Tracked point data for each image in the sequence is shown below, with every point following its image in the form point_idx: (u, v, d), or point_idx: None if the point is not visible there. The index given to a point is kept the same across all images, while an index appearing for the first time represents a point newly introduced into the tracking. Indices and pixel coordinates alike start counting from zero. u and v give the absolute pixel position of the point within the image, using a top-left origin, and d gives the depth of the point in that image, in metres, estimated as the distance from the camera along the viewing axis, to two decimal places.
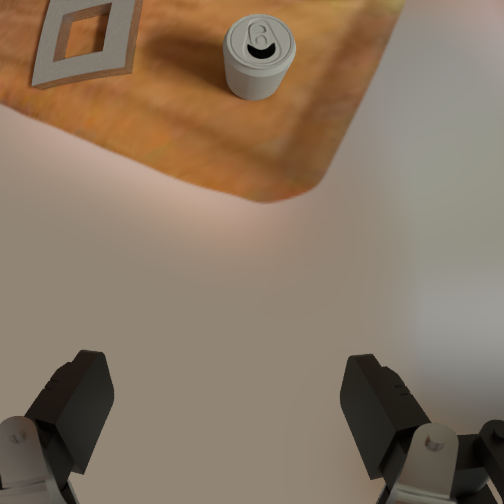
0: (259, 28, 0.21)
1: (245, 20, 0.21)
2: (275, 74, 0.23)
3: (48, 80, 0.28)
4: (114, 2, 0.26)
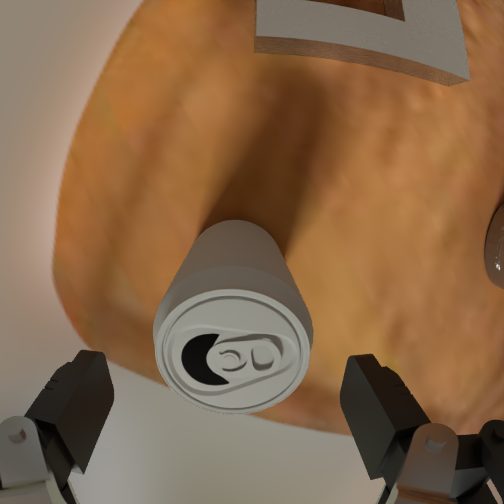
0: (266, 356, 0.11)
1: (291, 326, 0.10)
2: None
3: None
4: (404, 25, 0.15)
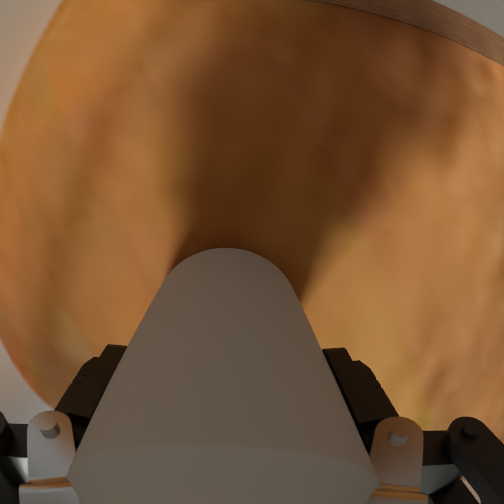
0: None
1: None
2: None
3: None
4: None
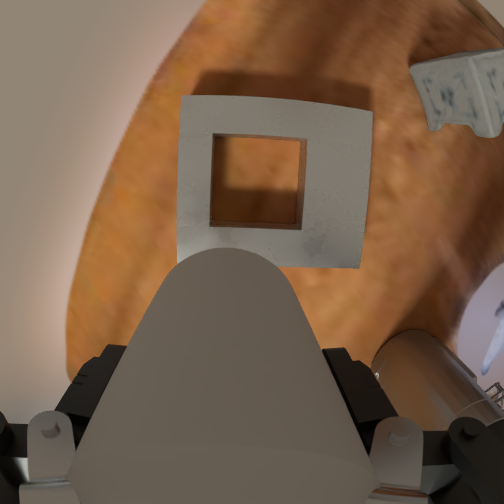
0: None
1: None
2: None
3: (181, 130, 0.23)
4: (299, 234, 0.26)
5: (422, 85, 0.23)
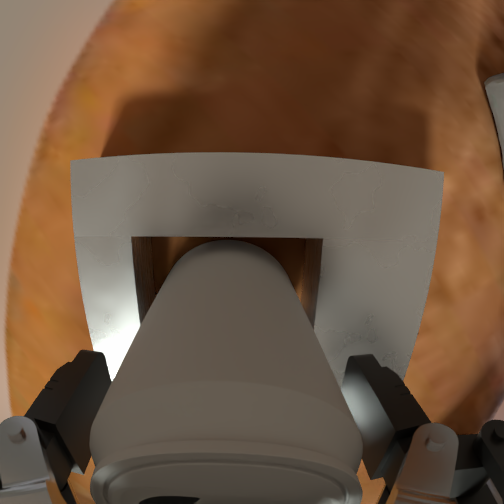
0: None
1: (336, 482, 0.04)
2: None
3: (76, 231, 0.12)
4: None
5: None
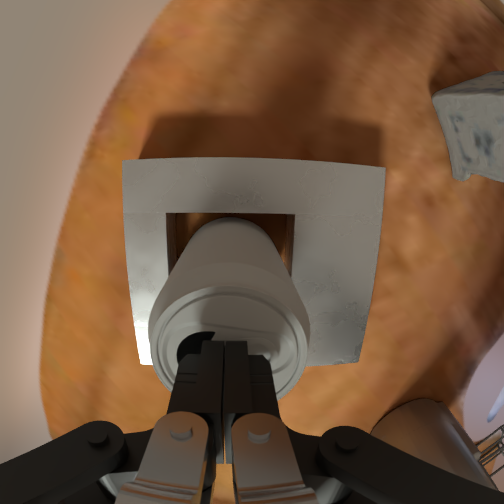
0: (263, 354, 0.11)
1: (289, 324, 0.10)
2: None
3: (125, 209, 0.18)
4: None
5: (449, 122, 0.18)
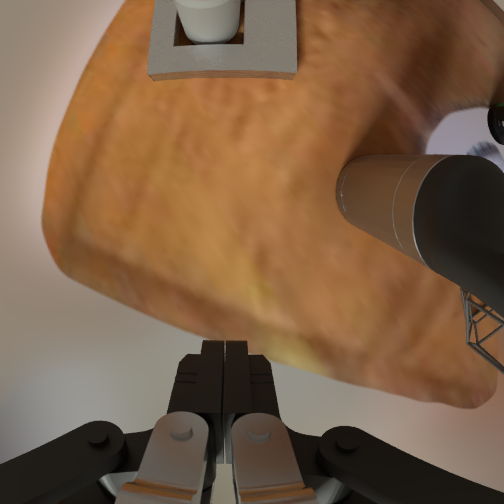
0: None
1: None
2: None
3: None
4: (242, 46, 0.28)
5: None
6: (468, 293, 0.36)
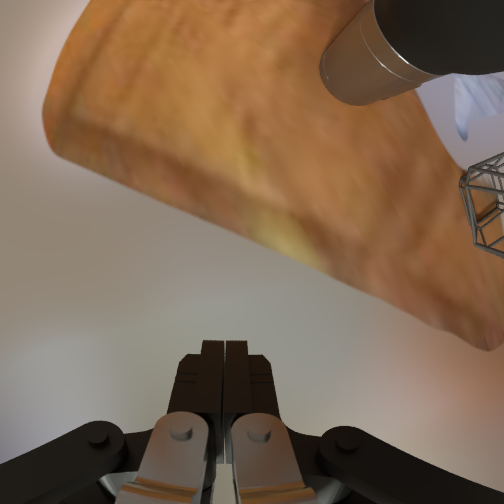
0: None
1: None
2: None
3: None
4: None
5: None
6: (467, 179, 0.34)
